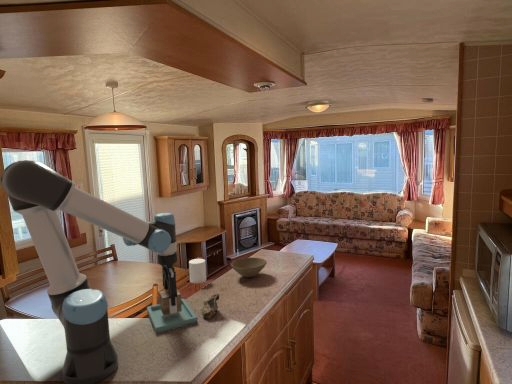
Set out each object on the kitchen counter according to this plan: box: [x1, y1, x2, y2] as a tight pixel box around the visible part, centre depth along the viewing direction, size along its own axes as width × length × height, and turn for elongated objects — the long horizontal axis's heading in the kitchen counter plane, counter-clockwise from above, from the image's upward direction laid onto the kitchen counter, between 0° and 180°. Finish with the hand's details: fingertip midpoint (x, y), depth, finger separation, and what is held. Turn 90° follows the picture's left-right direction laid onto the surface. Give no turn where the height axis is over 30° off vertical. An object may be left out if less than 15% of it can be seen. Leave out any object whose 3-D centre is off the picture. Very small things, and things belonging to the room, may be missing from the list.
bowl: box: [230, 257, 268, 278], centre depth 173 cm, size 18×18×8 cm
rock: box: [201, 292, 220, 319], centre depth 134 cm, size 9×7×10 cm
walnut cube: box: [158, 289, 182, 315], centre depth 132 cm, size 7×7×7 cm
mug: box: [188, 258, 207, 284], centre depth 172 cm, size 8×10×12 cm
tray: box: [146, 298, 198, 334], centre depth 133 cm, size 19×15×2 cm
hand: (171, 308), depth 132 cm, fingers closed on walnut cube, 7 cm apart
